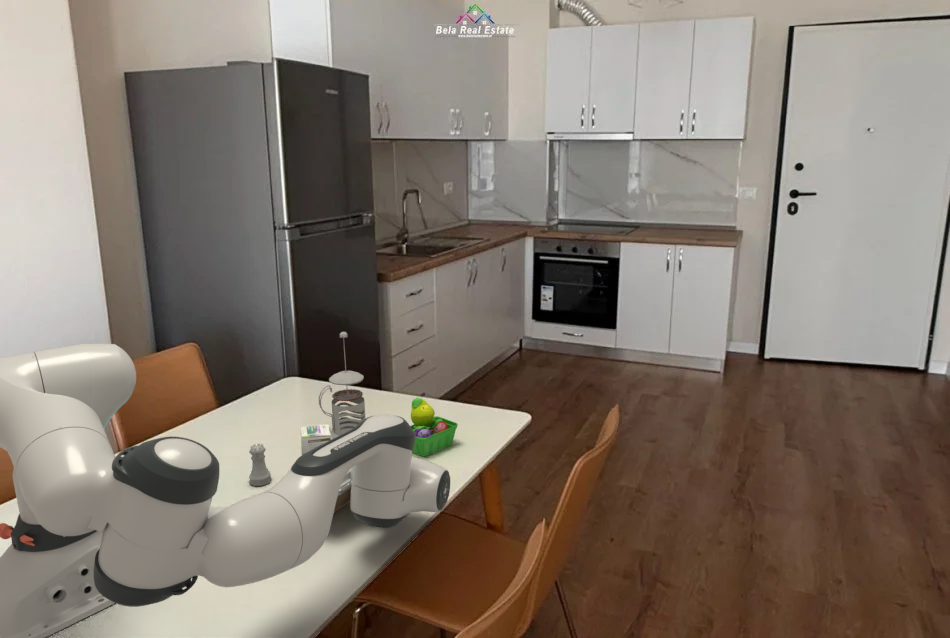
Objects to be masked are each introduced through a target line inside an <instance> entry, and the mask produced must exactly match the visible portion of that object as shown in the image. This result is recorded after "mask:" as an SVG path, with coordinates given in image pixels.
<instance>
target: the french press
mask: <svg viewBox="0 0 950 638" xmlns="http://www.w3.org/2000/svg"><path fill="white" fill-rule="evenodd" d="M348 337H349V336H348V333H347V331H341V332H340V333H339V338H341V339H343V340H342V342H343V353H344V354H343V355H344V356H343V357H344V358H346V349H345V347H346V346H345V338H348ZM346 361H347V360H346V359H344V368H345V369H344V370H342V371H339V372H337V373H334V374H333V375H331V376H330V377H329V378H328V381H329V382H330V384H332V385H335V386H336V385H337V386H346V387H345V388H346V389H342V390H337V391H335V392H334V393H333V387H331V385H329V384H327V385H326V386H325V387H323V388H322V389H321V390H320V393H319V395H318V406H319V408H320V410H321V411H322V412H323V414H324V415H326V416H327V417H330V418H331V425H332V426H331V427H332V430H331V436H332V439H334V438H336V437H338V436H340V435H342V434H343V433H345V432H347V431H349V430H351V429H353V428H355V427H356V426H357V425H358V424H359V423H360V422H362V421H363V420H364V419H366V418H367V417H366V407H365V406H366V405H365V397H363V395H364V393H363V391H361V390H359V389H352V388H351V389H350V388H349V387H348V386H350V385H356V384H359V383H361V382H362V381H363V380H364V375H363V374H361V373H360V372H357V371H353V370H347V364H346ZM327 387H328V388H327ZM348 388H349V389H348ZM327 390H329V392H330V393H333V394H332V396H331V397H332V398H333V399H332V400H331V411H332V413H329V412H327V411H325V410H324V409H323V407H322V398H323V395H324V393H326V391H327ZM338 402H339V403H338ZM349 402H350V403H349ZM351 403H352V404H351ZM346 411H348V412H346ZM349 412H350V413H349Z"/></svg>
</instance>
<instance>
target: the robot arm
mask: <svg viewBox="0 0 950 638" xmlns="http://www.w3.org/2000/svg"><path fill="white" fill-rule="evenodd" d="M136 382H137V371H136V366H135V364H134V362H133V360H132V357H130V355H129V353H127V352H126V351H125V350H124V349H123V348H122V347H120V346H119V345H117V344H115V343H80V344H73V345H68V346H61V347H60V346H59V347H54V348H48V349H43V350H36V351H33V352H27V353H26V352H25V353H22V354H21V353H20V354H15V355H8V356H2V357H0V448H1V449H3V450H5V451H6V452H7V454H8V455H9V458H10V460H11V462H12V465H13V470H12V481H13V486H14V492H15V496H16V502H17V507H18V512H19V513H18V516H17V517H16V519H17V520H16V521H15V525H14V526H13V525H9V524H7V523H5V522H0V538H1V539H2V540H8V539H11V543H10V545H9V546H8V548H7V549H6V550H5V551H4V552H3V554H1V556H0V638H47V637H49V636H51V635H53V634H54V633H58V632H60V631H61V630H63V629H65V628H68V627H70V626H71V625H74V624H75V623H78V622H79V621H82V620H83V619H86V618H87V617H89V616H92V615H94V614H96V613H98V612H100V611H101V610H104V609H106V608H109V607H110V606H112V605H114V604H117V605H119V606H123V607H129V608H130V607H131V608H133V607H135V608H138V607H144V606H149V605H153V604H158V603H160V602H163V601H166V600H168V599H170V598H171V597H172V596H182V595H184V594H185V593H187V592H188V591H189V590H190V589H192V588H193V586H194V585H195V583H197V580H198V577H199V576H200V577H202V578H204V579H206V580H207V581H208V582H209V583H211V584H213V585H214V586H217V587H221V588H234V587H235V588H236V587H240V586H245V585H250V584H251V585H252V584H254V583H257V582H261V581H264V580H267V579H270V578H273V577H277V576H278V575H280V574H283V573H285V572H288V571H290V570H292V569H294V568H296V567H298V566H300V565H302V564H304V563H306V562H307V561H308V560H310V559H311V558H312V557H313V556H315V554H316V553H317V552H318V551H319V550H320V549H321V548H322V547H323V545H324V544H325V542H326V540H327V538H328V536H329V533H330V529H331V526H332V521H333V517H334V513H335V512H334V509H335V505H336V500H337V497H338V496H339V495H341V494H343V493H345V492H346V491H347V490H348V489H350V488H351V498H350V502H349V506H350V509H349V511H350V512H351V514H352V516H353V517H354V518H355V519H357V520H358V521H359V522H360V523H361V524H363V525H365V526H369V527H373V528H379V529H390V528H394V527H395V526H397V525H399V523H401V522H402V521H404V519H406V518H407V517H408V516H409V515H410V514H412V513H416V512H429V513H438V512H441V511H442V510H443V509H444V508H445V506H446V505H447V503H448V499H449V497H450V492H451V476H450V472H449V470H448V469H447V468H446V467H443V466H442V465H439V464H438V463H434V462H432V461H428V460H425V459H422V458H419V457H415V456H413V452H412V451H413V448H414V443H415V437H416V434H415V433H414V431H413V429H412V428H411V425H410V424H409V423H408V421H407V420H406V419H405V418H404V417H402V416H398V415H394V414H387V413H386V414H383V413H382V414H377V415H371V416H368V417H365V418H366V419H364V420H363V421H362V422H360V423H359V424H358V425H357V426H356V427H355V428H353V429H351V430H349V431H347V432H345V433H343V434H342V435H340V436H338V437H336V438H334V439H333V438H332V440H330V441H328V442H326V443H324V444H322V445H320V446H318V447H316V448H314V449H312V450H310V451H309V452H307V453H305V454H303V455H302V454H301V455H300V456H299V457H298V458H296V460H295V461H294V463H293V464H292V466H291V467H290V468H289V470H288V471H287V473H286V474H285V475H284V476H282V478H280V480H279V481H277V482H276V483H275V484H273V486H271V487H270V488H268V489H267V490H266V491H264V492H261V493H258V494H255V495H252V496H250V497H249V496H248V497H246V498H243V499H241V500H239V501H237V502H234V503H233V504H231V505H229V506H211V504H212V500H213V497H214V496H215V494H216V493H217V491H218V488H219V487H218V485H219V480H220V472H221V471H220V463H219V460H218V458H217V457H216V455H214V453H213V452H212V451H211V450H210V449H209V448H208V447H206V446H205V445H203V444H202V443H200V442H197V441H195V440H193V439H190V438H187V437H182V436H164V437H160V438H159V437H158V438H153V439H150V440H147V441H145V442H142V443H140V444H139V445H133V446H129V447H127V448H125V449H123V450H122V451H120V452H119V453H118V454H116V455H115V452H114V450H113V448H112V446H111V443H110V441H109V438H108V436H107V433H106V431H105V429H106V428H107V425H108V424H109V423H110V421H111V419H112V418H113V416H114V415H115V414H116V413H117V412H118V410H120V409H121V407H122V406H124V404H126V403H127V402H128V401H129V399H130V398H131V397H132V394H133V393H134V390H135V388H136V385H137V384H136Z"/></svg>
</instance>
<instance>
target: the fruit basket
mask: <svg viewBox="0 0 950 638" xmlns="http://www.w3.org/2000/svg"><path fill="white" fill-rule="evenodd" d="M410 410H411V411H410V420H411V422H412V425H410V426H411V428H412V429H413V431H414V433H415V434H416V437H415V443H414V448H413V451H412V454H415V455H418V456H421V457H423V458H426V457H427V456H429V455H431V454H435V453H436V452H437V451H441V450H443V449H445V448H447V447H450V446H451V445H453V442H454V438H455V434H456V430H457V428H458V425H459V424H458V423H457V422H455V421H452V420H450V419H446V418H444V417H442V416H438V415H437V416H435V415H436V413H435V410H434V408H433V407H432V406H431V405H430V404H428V402H427V401H426V400H425V399H423V398H421V397H416V398H413V400H412V401H411V409H410Z"/></svg>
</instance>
